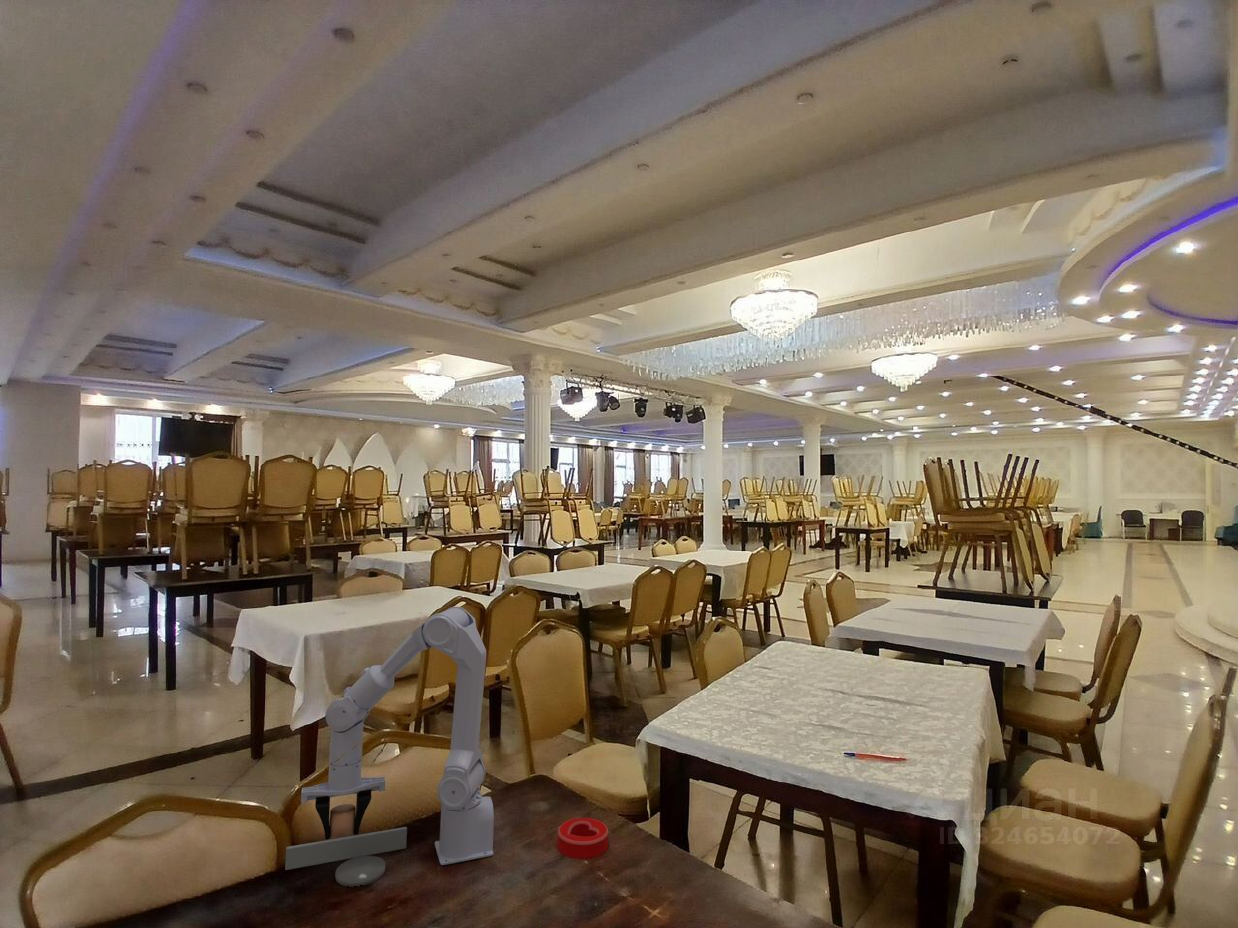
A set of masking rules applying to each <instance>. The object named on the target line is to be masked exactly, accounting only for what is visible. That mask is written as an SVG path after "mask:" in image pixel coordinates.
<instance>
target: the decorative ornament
mask: <svg viewBox="0 0 1238 928" xmlns="http://www.w3.org/2000/svg"><path fill="white" fill-rule="evenodd" d="M556 844H557V847H556V848H557V850H558V852H560V854H561V855H563V856H565V857H567V858H571V859H577V860H589V859H593V858H598V857H599V856H602V855H603V854H605V852H607V850H608V848H609V829H608V826H607V825H606V824H605V823H603V822H602V821H601V820H598V819H594V818H590V817H578V818H572V819H569V820H566V821H565V822H563V823H562V824H561V825H560V826H558V829H557V842H556Z"/></svg>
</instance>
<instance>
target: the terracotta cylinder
mask: <svg viewBox="0 0 1238 928" xmlns="http://www.w3.org/2000/svg"><path fill="white" fill-rule="evenodd" d="M355 816H356V805H354V804H351V803H348V804H347V803H345V804H339V805H336V806H334V807H332V808H330V811H329V826H330V827H329V839H328V840H331V839H337V838H343V837H349V836H354V830H355Z"/></svg>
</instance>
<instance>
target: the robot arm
mask: <svg viewBox="0 0 1238 928" xmlns="http://www.w3.org/2000/svg"><path fill="white" fill-rule="evenodd" d="M476 623H477V622H476V618H475V617H474V616H473V615H471V613H469V612H468V611H467V610H466V609H465V608H463V607H461V606H451V607H448V608H447V609H445V610H444V611H443V610H442V611H441V612H439V613H435V614H433V615H431V616H429V617H428V618H427V619H426V620H425V621H424V622H423V623H421V624H420V625H418V626H417V627H416V628H415V629H413V631H411V633H410V634H409V635H408V636H407V637H406V639H405V640H403V642H402V643H401V644H400V645H399V646H398V647H397V648H396V649H395V651H394V652H392V654H391V655H390V656H389V657H388V658H387V659H386V660H385V661H384V662H383V664H379V665H378V664H376V665H372V666H371V667H366V668H363V670H362V671H360V673H359V674H360V677H359V679H357V680H356V681H355V683H353V684H352V686H348V687H346V688H345V689H344V690H343V693H344V695H343V696H342V697H340V698H337V699H335V700H333V701H332V702H331V703H330V705H329V706H328V707H327V709H326V711H325V722H326V724H327V725H328V727H329V728H330V741H329V744H330V745H329V758H328V759H329V760H328V780H327V781H328V782H327V781H326V782H323V783H319V784H315V785H312V786H305V787H302V788H301V795H300V803H301V804H304V803H308V801H315V804H314V806H315V809H316V812H317V813H318V816H319V819H320V820H321V824H322V828H323V832H324V841H325V840H329V827H330V811H331V808H330V807H331V805H330V804H331V798H336V797H340V796H349V795H356V804H355V807H356V812H355V830H354V835H359V831H360V827H361V824H362V820H363V818H364V815H365V813H366V810H367V809H368V807H369V805H370V803H371V800H372V792H375V791H377V792H385V791H386V777H385V776H379V777H362V762H363V760H362V759H363V739H364V723H365V720H366V719H367V717H368V716H369V714H370V712H371V710H372V709H373V708H374V707H375V706H376V705H377V704H378V703H379V702H380V701H381V700H382V699H383V698H384V697H385V696H387V694H388V693H389V692H390V691H391V690H392V689H393V688H394V686H395V677H396V675H398V673H400V672H401V671H402V670H403V669H404V668H405V667H407V665H408V664H409V663H410V662H411V661H413V659H414V658H416V656H418V655H419V654H420V653H421V652H422V651H425V650H426V651H427V650H430V648H433V649H434V650H435V649H436V650H437V651H440V652H441V653H443V654H445V655H447V656H449V658H450V659H452V660H453V662H455V664H457V670H456V680H455V681H456V682H455V690H454V691H455V692H454V702H453V714H452V725H451V736H450V737H451V738H450V739H451V740H450V747H449V748H450V750H449V752H448V755H447V759H446V762H445V765H444V769H443V775H442V777H441V779H440V781H439V783H438V784H437V790H436V791H437V792H436V794H437V798H438V801H439V802H440V804H441V806H440V826H439V827H440V828H439V830H440V831H439V840H436V841H434V847H435V850H436V855H437V857H438V862H439V864H440V865H441V866H446V865H451V864H456V863H461V862H466V861H471V860H476V859H482V858H486V857H492V856H493V855H494V825H495V824H494V823H495V822H494V821H495V820H494V819H495V817H494V815H495V814H494V812H495V811H494V803H493V800H492V797H491V796H482V794H481V790H480V786H481V785H482V784H483V782H484V780H485V777H486V767H485V765H484V762H483V750H482V748H480V735H481V722H482V714H483V713H482V710H483V700H484V687H485V676H486V662H487V649H486V647H485V645H484V642H483V639H482V637H481V636H480V635H481V634H480V633H479V631H478V629H477V624H476ZM361 742H362V743H361ZM359 743H361V744H359ZM357 744H359V745H357ZM356 745H357V746H356ZM354 746H356V747H355V748H353V747H354ZM352 748H353V749H352ZM351 749H352V750H351ZM344 753H346V754H344ZM343 754H344V755H343ZM342 755H343V756H342ZM341 756H342V757H341ZM339 758H340V759H339ZM337 759H339V760H338V761H336V760H337ZM335 761H336V762H335ZM333 762H334V763H333ZM332 763H333V764H332ZM330 764H331V765H330ZM329 765H330V766H329Z"/></svg>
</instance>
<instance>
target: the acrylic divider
mask: <svg viewBox="0 0 1238 928" xmlns="http://www.w3.org/2000/svg"><path fill="white" fill-rule="evenodd" d="M407 834H408V827H407V826H403V827H396V828H391V829H385V830H384V829H383V830H380V831H373V832H367V833H361V834H358V835H354V836H349V837H343V838H337V839H331V840H329V839H328V840H325V839H324V840H320V841H319V840H318V841H314V842H308V843H303V844H301V843H300V844H297V845H290V846H286V849H285V866H284V867H285V868H284V869H285V871H288V870H295V869H299V868H305V867H309V866H310V867H311V866H316V865H321V864H327V863H332V862H337V861H338V862H339V861H344V860H350V859H353V858H356V857H361V856H373V855H376V854H381V853H386V852H387V853H388V852H392V851H397V850H399V851H400V850H403V849H407V837H408V836H407Z"/></svg>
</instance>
